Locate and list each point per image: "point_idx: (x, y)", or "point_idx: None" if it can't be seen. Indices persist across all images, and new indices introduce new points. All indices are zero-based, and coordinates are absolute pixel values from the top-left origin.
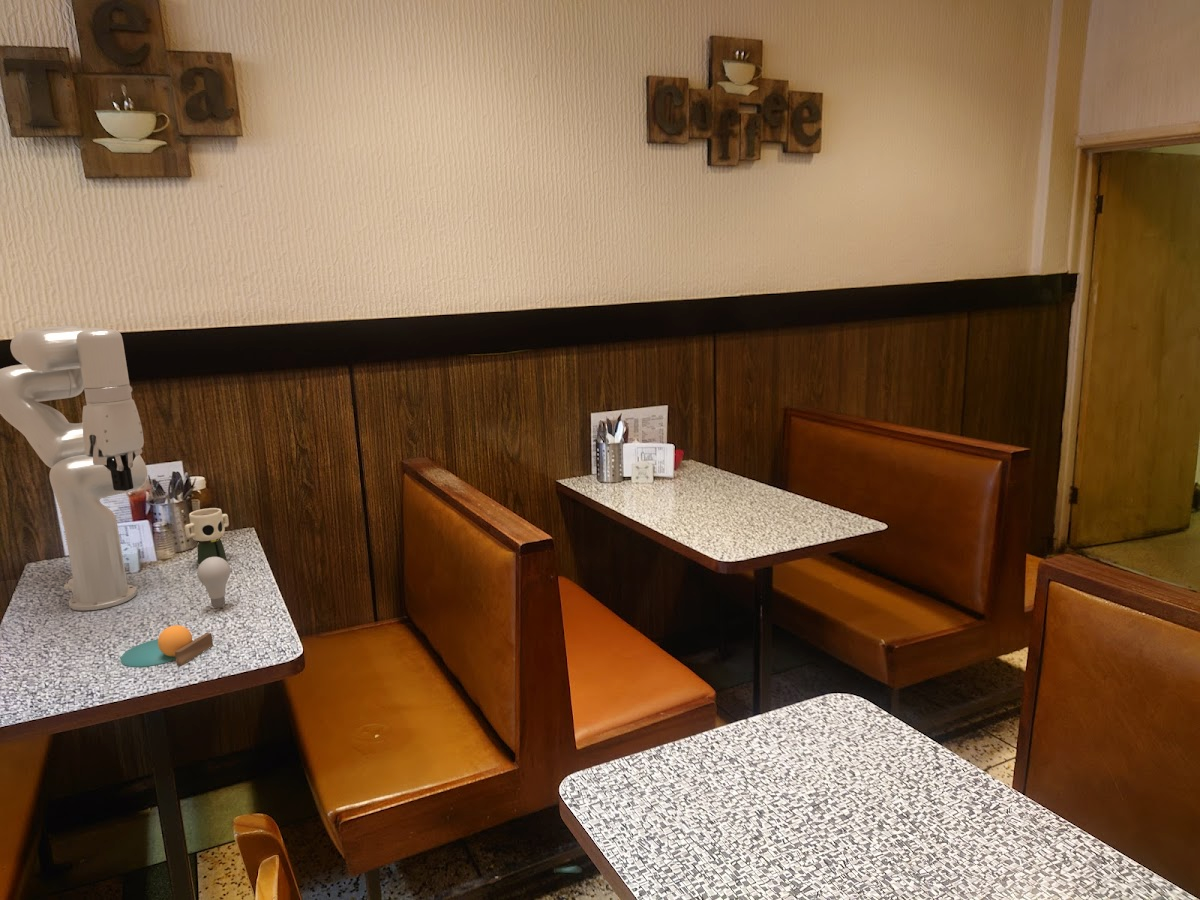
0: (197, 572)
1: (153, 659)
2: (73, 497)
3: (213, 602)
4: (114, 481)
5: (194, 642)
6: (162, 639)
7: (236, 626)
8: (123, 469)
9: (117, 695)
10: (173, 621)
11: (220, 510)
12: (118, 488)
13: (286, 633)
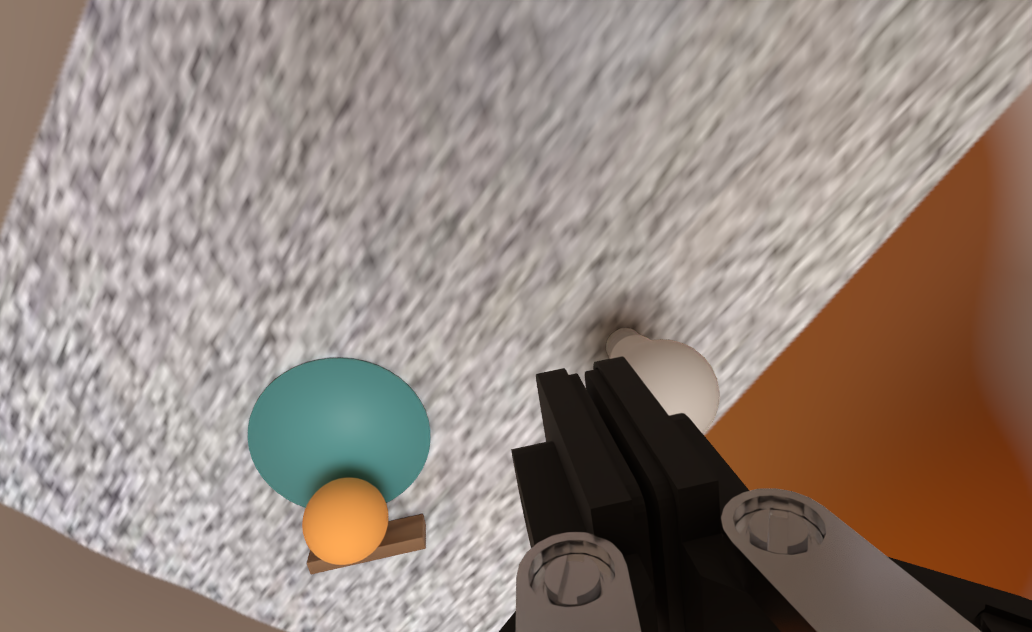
0: None
1: (302, 472)
2: None
3: (609, 353)
4: (522, 499)
5: (367, 558)
6: (305, 536)
7: None
8: (686, 609)
9: (145, 552)
10: (503, 297)
11: None
12: (547, 433)
13: None
